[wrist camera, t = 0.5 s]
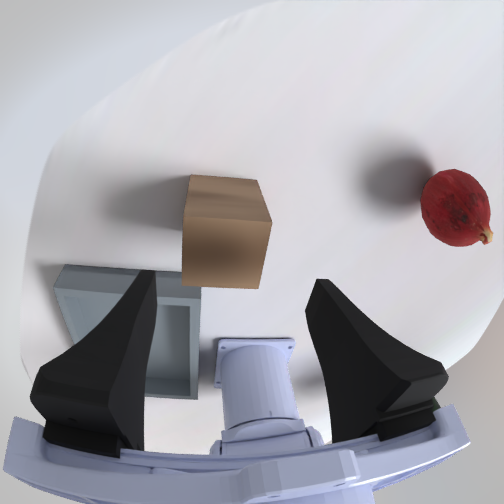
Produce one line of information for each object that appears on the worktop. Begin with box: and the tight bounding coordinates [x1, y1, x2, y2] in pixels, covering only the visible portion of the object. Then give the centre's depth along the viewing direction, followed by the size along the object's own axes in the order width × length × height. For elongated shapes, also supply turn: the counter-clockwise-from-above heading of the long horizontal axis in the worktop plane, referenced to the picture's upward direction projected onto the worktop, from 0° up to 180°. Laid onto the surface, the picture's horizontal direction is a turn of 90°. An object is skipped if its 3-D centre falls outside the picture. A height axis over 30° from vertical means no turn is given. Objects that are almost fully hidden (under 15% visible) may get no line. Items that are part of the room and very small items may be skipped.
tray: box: [53, 264, 201, 400], centre depth 26 cm, size 16×12×3 cm
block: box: [182, 175, 272, 289], centre depth 19 cm, size 4×4×6 cm
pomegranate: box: [420, 169, 493, 247], centre depth 19 cm, size 6×6×8 cm
